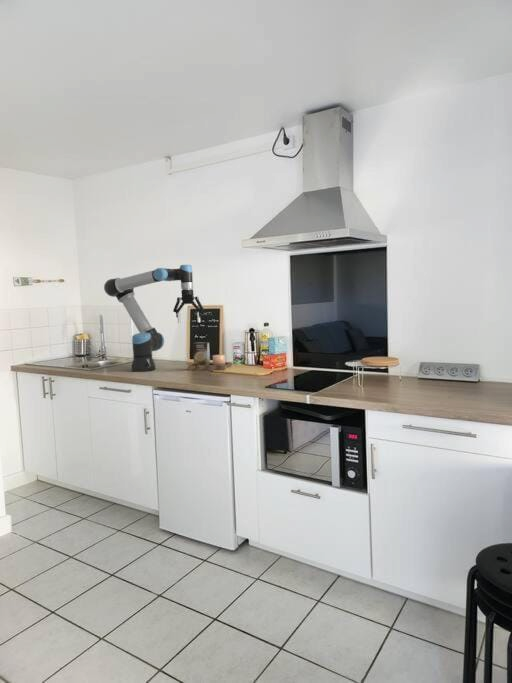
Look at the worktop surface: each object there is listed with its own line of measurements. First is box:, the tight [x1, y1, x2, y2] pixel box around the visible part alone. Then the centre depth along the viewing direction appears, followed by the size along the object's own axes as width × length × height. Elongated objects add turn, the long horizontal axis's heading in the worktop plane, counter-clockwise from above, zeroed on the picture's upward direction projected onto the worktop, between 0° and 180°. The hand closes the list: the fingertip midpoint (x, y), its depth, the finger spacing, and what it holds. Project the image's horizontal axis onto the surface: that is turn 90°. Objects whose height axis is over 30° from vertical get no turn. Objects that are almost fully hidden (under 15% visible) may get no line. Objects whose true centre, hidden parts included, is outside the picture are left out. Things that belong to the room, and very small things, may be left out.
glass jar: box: [192, 341, 211, 366], centre depth 299 cm, size 9×6×16 cm
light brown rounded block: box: [212, 354, 226, 366], centre depth 297 cm, size 8×8×8 cm
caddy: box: [187, 361, 233, 371], centre depth 298 cm, size 23×14×4 cm, turn 75°
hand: (189, 322), depth 312 cm, fingers open, 13 cm apart
